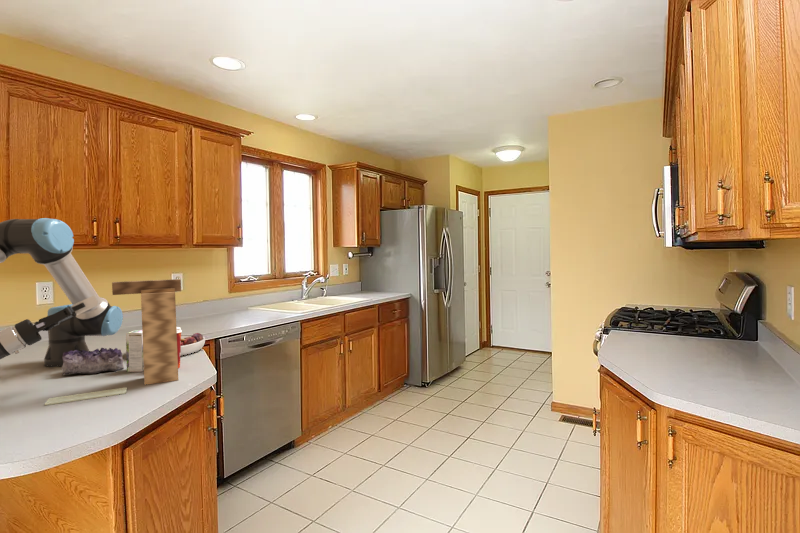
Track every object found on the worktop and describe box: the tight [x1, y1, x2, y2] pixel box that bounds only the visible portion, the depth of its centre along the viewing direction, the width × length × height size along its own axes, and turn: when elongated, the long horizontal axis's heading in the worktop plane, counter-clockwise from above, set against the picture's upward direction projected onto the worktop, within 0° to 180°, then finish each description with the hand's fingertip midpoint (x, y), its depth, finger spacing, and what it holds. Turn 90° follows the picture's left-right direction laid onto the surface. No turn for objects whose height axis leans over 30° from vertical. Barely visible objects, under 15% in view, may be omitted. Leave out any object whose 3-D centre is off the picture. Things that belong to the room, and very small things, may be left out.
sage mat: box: [44, 387, 128, 406], centre depth 136 cm, size 20×6×1 cm, turn 119°
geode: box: [61, 347, 125, 376], centre depth 164 cm, size 20×12×10 cm, turn 108°
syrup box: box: [125, 329, 144, 373], centre depth 165 cm, size 6×6×14 cm
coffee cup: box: [176, 326, 183, 369], centre depth 167 cm, size 8×8×15 cm
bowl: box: [180, 332, 206, 357], centre depth 193 cm, size 30×30×8 cm
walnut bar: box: [111, 278, 182, 296], centre depth 151 cm, size 20×4×4 cm, turn 119°
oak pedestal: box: [140, 288, 179, 386], centre depth 153 cm, size 10×10×31 cm
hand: (96, 300), depth 146 cm, fingers open, 13 cm apart
